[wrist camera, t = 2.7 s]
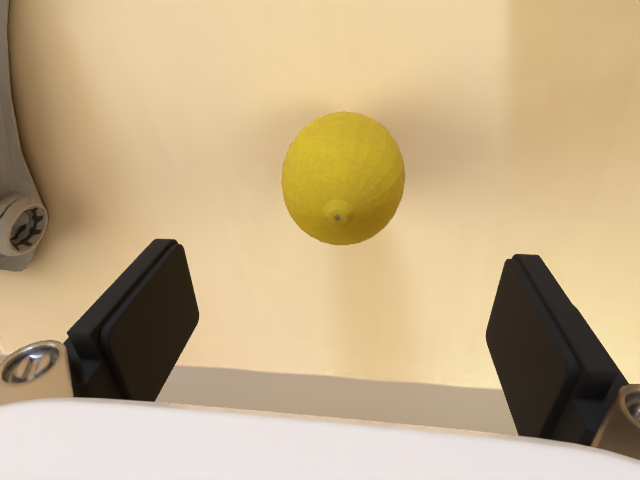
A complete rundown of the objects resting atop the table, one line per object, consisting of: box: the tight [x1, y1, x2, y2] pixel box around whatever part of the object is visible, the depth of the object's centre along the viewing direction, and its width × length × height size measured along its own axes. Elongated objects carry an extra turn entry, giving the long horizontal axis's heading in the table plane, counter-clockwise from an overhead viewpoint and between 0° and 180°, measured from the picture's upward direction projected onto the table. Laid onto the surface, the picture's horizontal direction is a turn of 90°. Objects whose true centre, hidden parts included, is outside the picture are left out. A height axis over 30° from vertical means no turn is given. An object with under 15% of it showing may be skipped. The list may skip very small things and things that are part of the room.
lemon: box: [282, 112, 405, 245], centre depth 18 cm, size 6×6×8 cm
